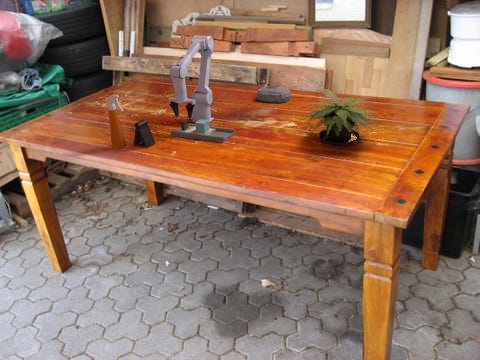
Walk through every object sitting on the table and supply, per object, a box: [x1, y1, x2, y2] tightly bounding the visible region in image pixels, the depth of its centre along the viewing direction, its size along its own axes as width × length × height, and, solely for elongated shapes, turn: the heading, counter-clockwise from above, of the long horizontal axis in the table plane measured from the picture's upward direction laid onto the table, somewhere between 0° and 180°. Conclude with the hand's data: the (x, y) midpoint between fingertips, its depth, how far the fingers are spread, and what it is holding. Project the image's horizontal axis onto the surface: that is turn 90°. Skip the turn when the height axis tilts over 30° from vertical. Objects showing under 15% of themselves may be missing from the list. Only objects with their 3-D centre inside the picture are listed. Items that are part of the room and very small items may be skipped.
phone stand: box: [133, 118, 156, 149], centre depth 217 cm, size 9×6×12 cm, turn 59°
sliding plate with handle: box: [180, 118, 216, 135], centre depth 226 cm, size 17×9×5 cm, turn 64°
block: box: [194, 119, 210, 133], centre depth 225 cm, size 5×5×5 cm
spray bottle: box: [104, 94, 128, 150], centre depth 213 cm, size 7×11×26 cm, turn 58°
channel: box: [170, 123, 235, 143], centre depth 226 cm, size 30×12×2 cm, turn 65°
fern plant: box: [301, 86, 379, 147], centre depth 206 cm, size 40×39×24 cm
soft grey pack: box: [256, 84, 292, 104], centre depth 269 cm, size 15×8×20 cm
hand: (183, 117), depth 227 cm, fingers open, 7 cm apart
